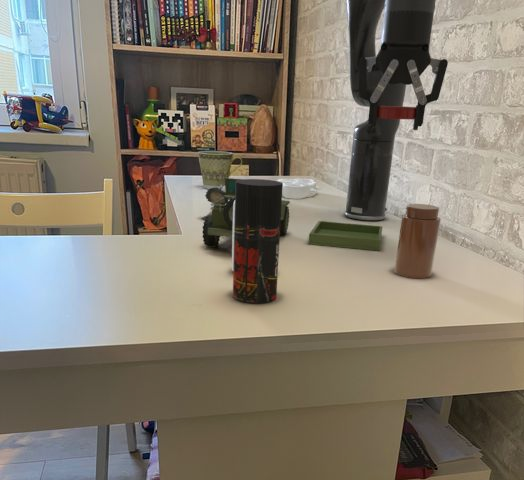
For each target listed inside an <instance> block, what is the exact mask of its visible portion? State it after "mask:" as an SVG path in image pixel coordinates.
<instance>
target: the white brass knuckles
mask: <svg viewBox="0 0 524 480" xmlns="http://www.w3.org/2000/svg"><path fill="white" fill-rule="evenodd" d="M276 181H279V182H282V183H283V187H282V198H285V199H293V200H302V199H304V198H311V197H314V196H315V195H316V192H317V191H320V190H321V189H322V187H319V186H318V185H317V182H316V180H315V179H312V178H279V179H277V180H276Z"/></svg>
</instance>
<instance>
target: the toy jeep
mask: <svg viewBox="0 0 524 480" xmlns="http://www.w3.org/2000/svg"><path fill="white" fill-rule="evenodd" d="M224 179H225V191H226V195H224V197H223V198H221V199H220V200H218V201H216V202H214V203H210V206H211V207H210V210H211V211H212V215H207V214H206V215H205V216H206V218H205V219H203V220H204V221H203V225H202V242H203V244H204V245H205V246H207V247H211V248H213V247H218V245H219V242H220V240H221V239H220V238H221V237H228V238H232V233H233V204H234V201H235V181H237V180H242V179H243V178H231V177H229V178H224ZM223 199H225V201H222V202H220V203H218V204H216V203H217V202H219V201H221V200H223ZM223 202H224V203H223ZM290 203H291V200H285V199H284V200H283V199H282V204H281V222H280V235H287V232H288V228H289V222H290V209H289V206H288V205H290Z"/></svg>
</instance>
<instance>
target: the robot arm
mask: <svg viewBox="0 0 524 480" xmlns="http://www.w3.org/2000/svg"><path fill="white" fill-rule="evenodd" d="M345 5H346V16H347V28H348V42H349V43H348V46H349V83H350V85H349V86H350V91H351V96H352V98H353V101H354V102H355V103H356V104H357V105H358V106H359V107H365V108H369V109H368V117H367V118H368V119H367V120H365V121H363V122H361V123H359V124H357V125H356V126H354V129H353V136H352V138H353V139H352V147H351V157H350V165H349V166H350V167H349V177H348V184H347V195H346V196H347V197H346V202H345V203H346V205H345V210H344V216H345V217H347V218H350V219H353V220H360V221H383V220H384V219H385V218H386V212H387V200H388V193H389V186H390V178H391V171H392V163H393V156H394V155H393V154H394V147H395V139H396V134H397V132H398V129H399V127H400V123H401V119H384V118H377V113H378V106H404V102H405V97H406V91H407V86H412V88H413V91H414V94H415V97H416V100H417V104H416V105H415V107H416V113H415V119H413V124H412V130H413V131H418V130H419V127H422V126H423V124H424V119H425V118H424V117H425V110H426V106H427V105H428V104H430V103H432V102H436V101H438V100H439V98H440V94H441V90H442V88H443V83H444V79H445V75H446V72H447V68H448V65H449V62H448V61H449V60H447V59H446V58H443V59H441V58H440V59H439V58H432V56H431V54H430V43H431V36H432V29H433V23H434V16H435V9H436V0H345ZM382 14H383V16H382ZM381 16H382V24H381V25H382V26H381V34H380V43H379V51H378V52H377V51H376V36H377V35H376V34H377V29H378V25H379V23H380V19H381ZM376 53H377V54H376ZM429 66H430V67H431V72H432V74H434V75H435V76H434V79H433V83H432V87H431V90H430V93H427V94H426V93H425V89H424V86H423V83H422V80H421V78H420V77H421V76H422V74H423V73H424V72H425V71H426V69H427V68H428V67H429Z"/></svg>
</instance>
